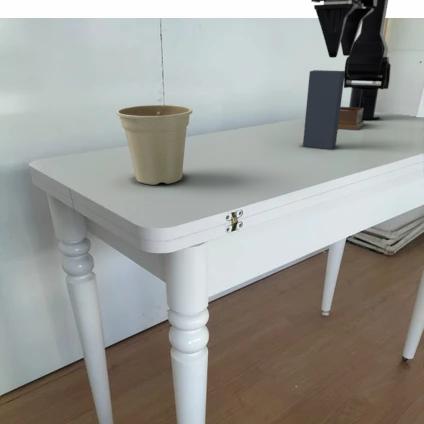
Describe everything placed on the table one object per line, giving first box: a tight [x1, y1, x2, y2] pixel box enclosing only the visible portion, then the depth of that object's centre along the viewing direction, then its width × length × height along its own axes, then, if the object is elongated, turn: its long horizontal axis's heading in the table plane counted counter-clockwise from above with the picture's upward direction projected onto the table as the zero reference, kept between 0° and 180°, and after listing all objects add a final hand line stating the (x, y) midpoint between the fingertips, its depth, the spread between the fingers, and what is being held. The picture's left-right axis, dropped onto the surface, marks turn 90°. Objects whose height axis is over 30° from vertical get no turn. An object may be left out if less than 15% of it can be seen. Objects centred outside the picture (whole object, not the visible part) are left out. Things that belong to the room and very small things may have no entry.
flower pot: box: [115, 104, 193, 186], centre depth 58 cm, size 9×9×9 cm
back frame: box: [338, 106, 366, 131], centre depth 93 cm, size 7×10×3 cm
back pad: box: [302, 69, 345, 150], centre depth 74 cm, size 2×5×12 cm, turn 62°
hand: (339, 56), depth 75 cm, fingers open, 9 cm apart
